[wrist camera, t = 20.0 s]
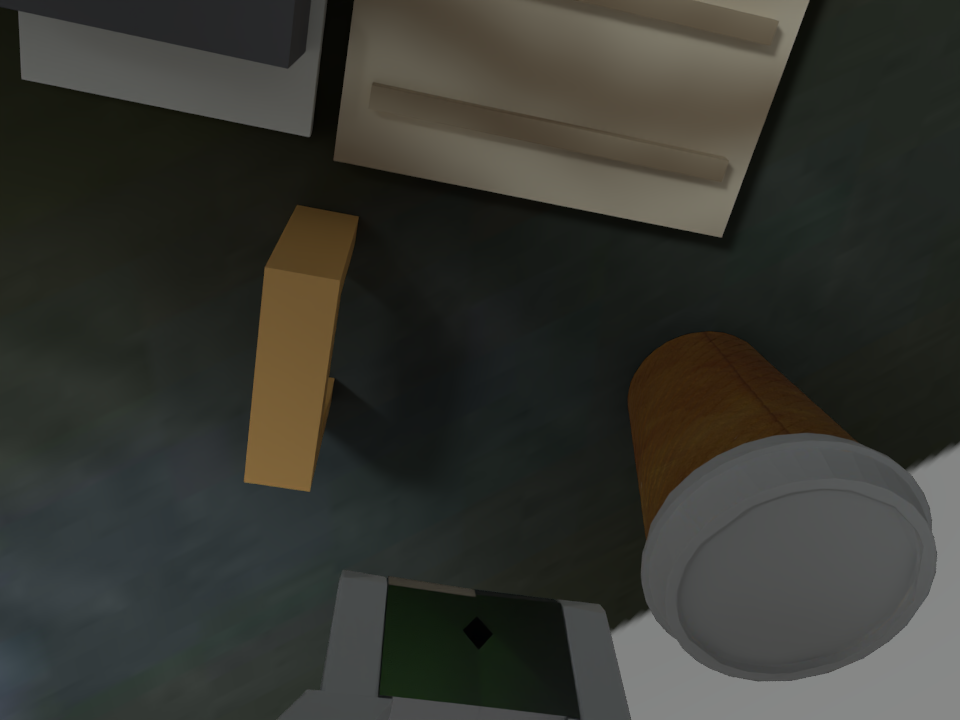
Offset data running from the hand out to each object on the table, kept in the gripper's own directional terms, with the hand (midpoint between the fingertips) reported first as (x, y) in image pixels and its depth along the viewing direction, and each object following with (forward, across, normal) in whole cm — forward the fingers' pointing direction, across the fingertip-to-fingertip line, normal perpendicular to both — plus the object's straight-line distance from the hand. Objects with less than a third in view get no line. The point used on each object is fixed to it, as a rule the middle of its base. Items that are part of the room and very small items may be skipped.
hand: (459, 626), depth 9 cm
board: (+24, -4, -4) cm, 25 cm away
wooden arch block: (+24, +4, +8) cm, 26 cm away
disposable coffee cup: (+24, -13, +9) cm, 29 cm away
